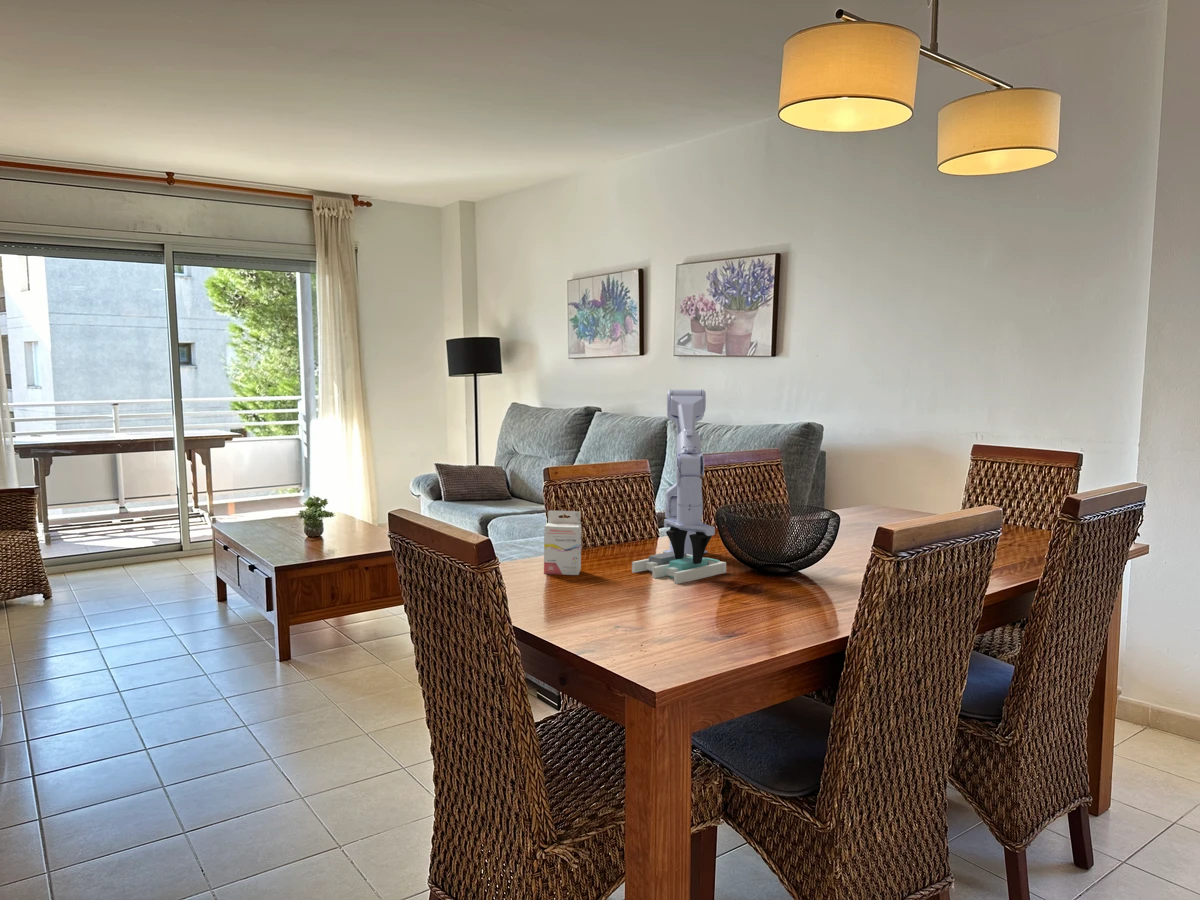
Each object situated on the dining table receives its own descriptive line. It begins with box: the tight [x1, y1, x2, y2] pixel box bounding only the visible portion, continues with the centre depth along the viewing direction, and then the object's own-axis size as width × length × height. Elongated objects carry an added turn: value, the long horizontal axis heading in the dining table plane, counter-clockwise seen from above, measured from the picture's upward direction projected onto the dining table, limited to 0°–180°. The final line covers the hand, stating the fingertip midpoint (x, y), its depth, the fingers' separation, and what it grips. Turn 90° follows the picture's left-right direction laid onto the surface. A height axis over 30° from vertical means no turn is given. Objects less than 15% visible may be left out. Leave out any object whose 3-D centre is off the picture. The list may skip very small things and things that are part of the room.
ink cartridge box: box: [543, 510, 582, 576], centre depth 198 cm, size 9×5×15 cm, turn 84°
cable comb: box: [631, 554, 727, 585], centre depth 199 cm, size 17×15×3 cm
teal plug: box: [667, 556, 709, 579], centre depth 196 cm, size 13×4×4 cm, turn 132°
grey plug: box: [646, 551, 687, 573], centre depth 201 cm, size 13×4×4 cm, turn 131°
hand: (688, 561), depth 196 cm, fingers open, 5 cm apart
